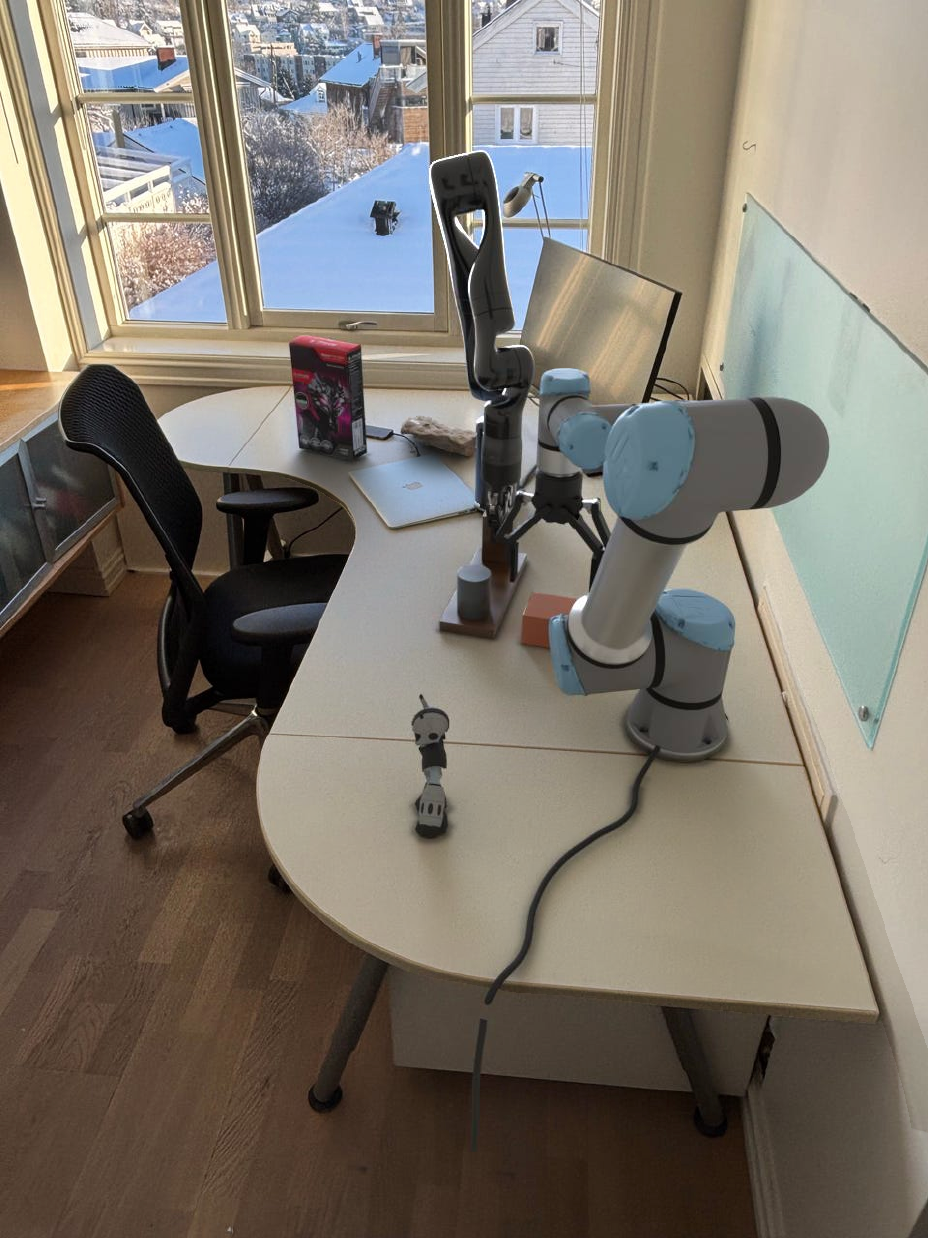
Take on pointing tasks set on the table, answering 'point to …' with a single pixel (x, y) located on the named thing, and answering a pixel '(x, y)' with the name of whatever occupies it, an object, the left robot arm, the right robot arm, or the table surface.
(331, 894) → the table surface
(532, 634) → the terracotta cap
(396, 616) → the table surface
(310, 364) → the graphics card box
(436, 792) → the robot
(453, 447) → the stone
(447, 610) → the walnut stand
